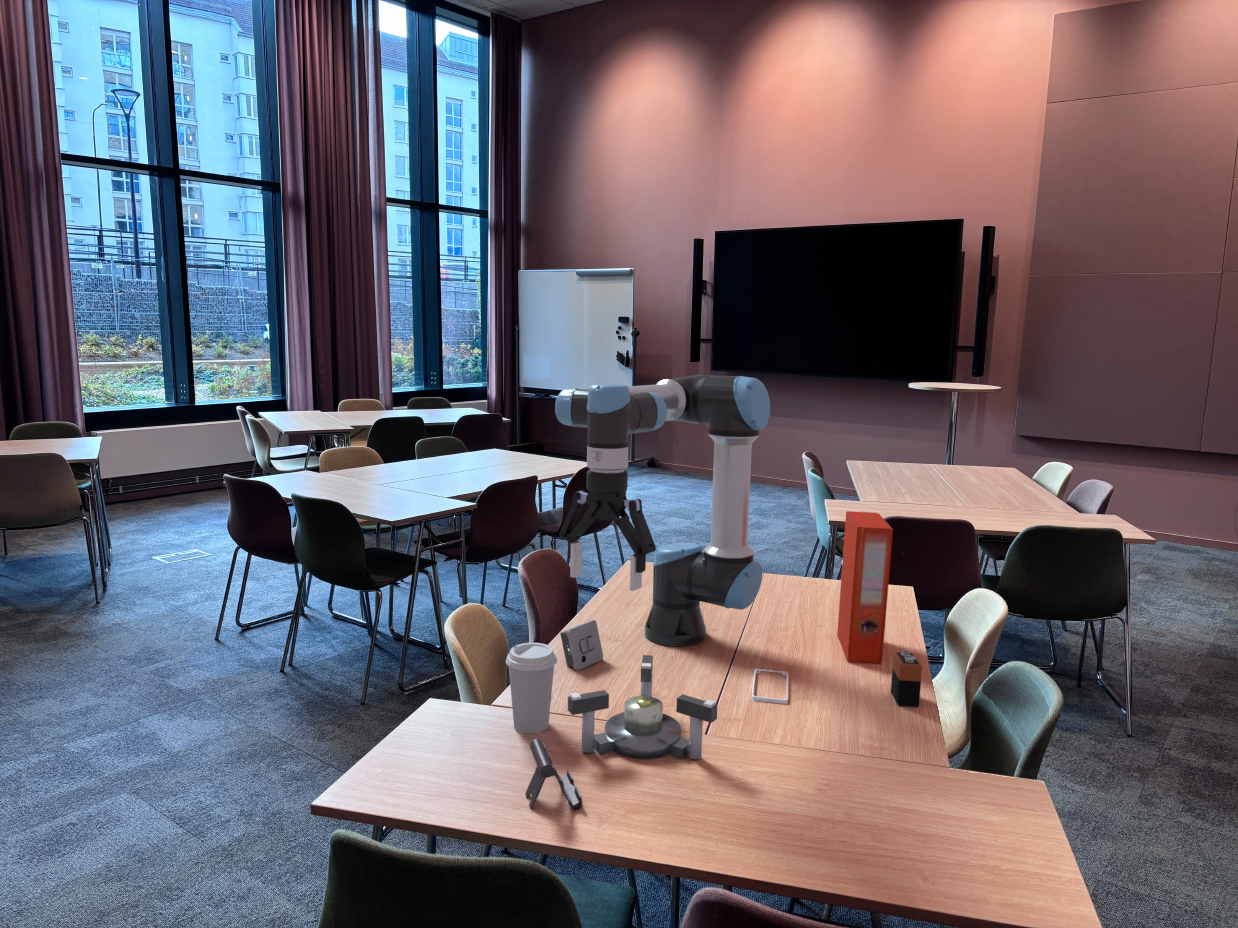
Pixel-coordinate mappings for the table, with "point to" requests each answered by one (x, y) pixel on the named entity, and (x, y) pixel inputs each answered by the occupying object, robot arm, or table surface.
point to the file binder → (864, 587)
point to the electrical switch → (582, 645)
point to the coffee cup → (531, 685)
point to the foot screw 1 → (588, 713)
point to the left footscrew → (696, 720)
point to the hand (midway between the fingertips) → (605, 582)
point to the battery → (906, 679)
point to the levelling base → (642, 743)
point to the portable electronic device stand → (548, 770)
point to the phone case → (766, 699)
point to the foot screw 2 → (646, 675)
